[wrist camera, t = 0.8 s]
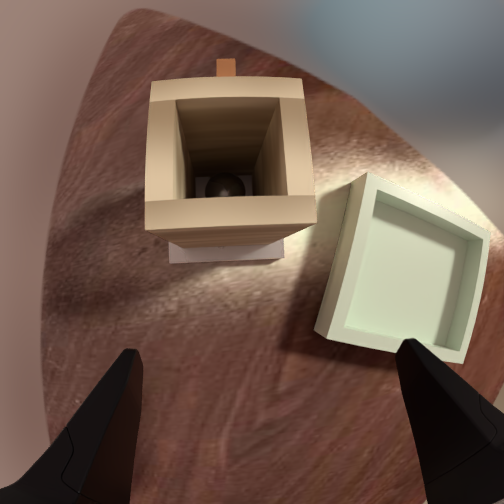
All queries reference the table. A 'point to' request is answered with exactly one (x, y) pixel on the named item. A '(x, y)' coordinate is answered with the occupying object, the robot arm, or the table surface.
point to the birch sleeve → (228, 159)
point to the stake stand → (225, 187)
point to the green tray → (403, 272)
